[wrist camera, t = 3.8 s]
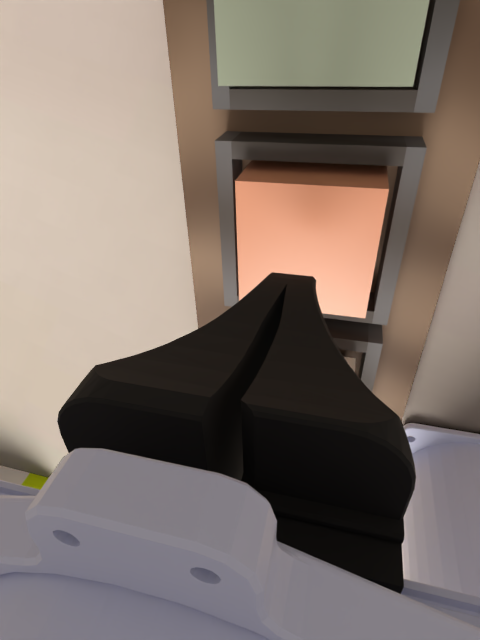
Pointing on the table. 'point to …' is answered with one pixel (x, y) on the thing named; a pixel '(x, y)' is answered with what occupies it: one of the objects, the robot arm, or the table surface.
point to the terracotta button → (312, 228)
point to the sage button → (318, 42)
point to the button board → (338, 148)
